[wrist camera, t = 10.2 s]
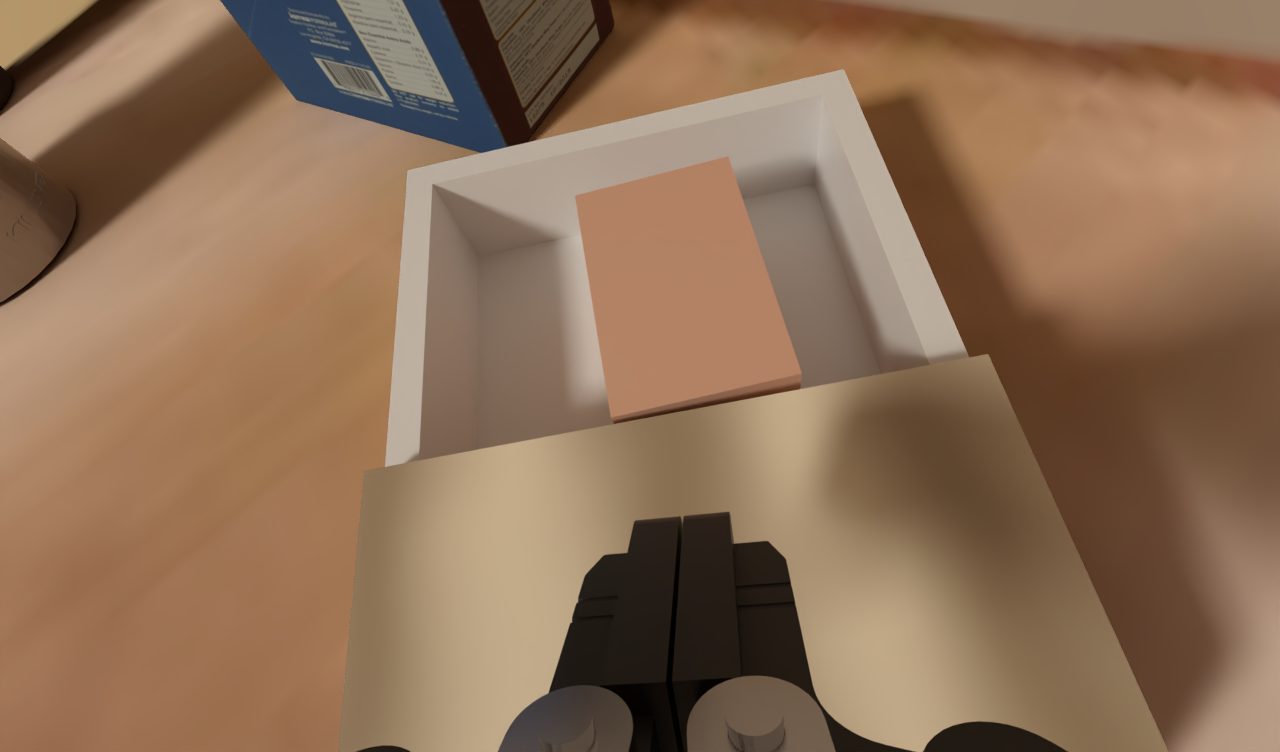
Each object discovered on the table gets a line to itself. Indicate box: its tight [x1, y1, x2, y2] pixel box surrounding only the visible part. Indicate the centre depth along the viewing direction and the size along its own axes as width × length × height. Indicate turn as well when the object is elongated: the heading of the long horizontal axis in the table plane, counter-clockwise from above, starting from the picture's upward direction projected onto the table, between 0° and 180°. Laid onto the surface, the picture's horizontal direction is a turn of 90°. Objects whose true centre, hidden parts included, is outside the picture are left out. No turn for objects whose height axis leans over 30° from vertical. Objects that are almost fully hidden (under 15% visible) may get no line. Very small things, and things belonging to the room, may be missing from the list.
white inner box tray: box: [385, 69, 969, 467], centre depth 22 cm, size 16×12×5 cm
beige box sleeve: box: [338, 354, 1169, 752], centre depth 16 cm, size 16×11×6 cm
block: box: [575, 156, 802, 424], centre depth 21 cm, size 5×5×8 cm
